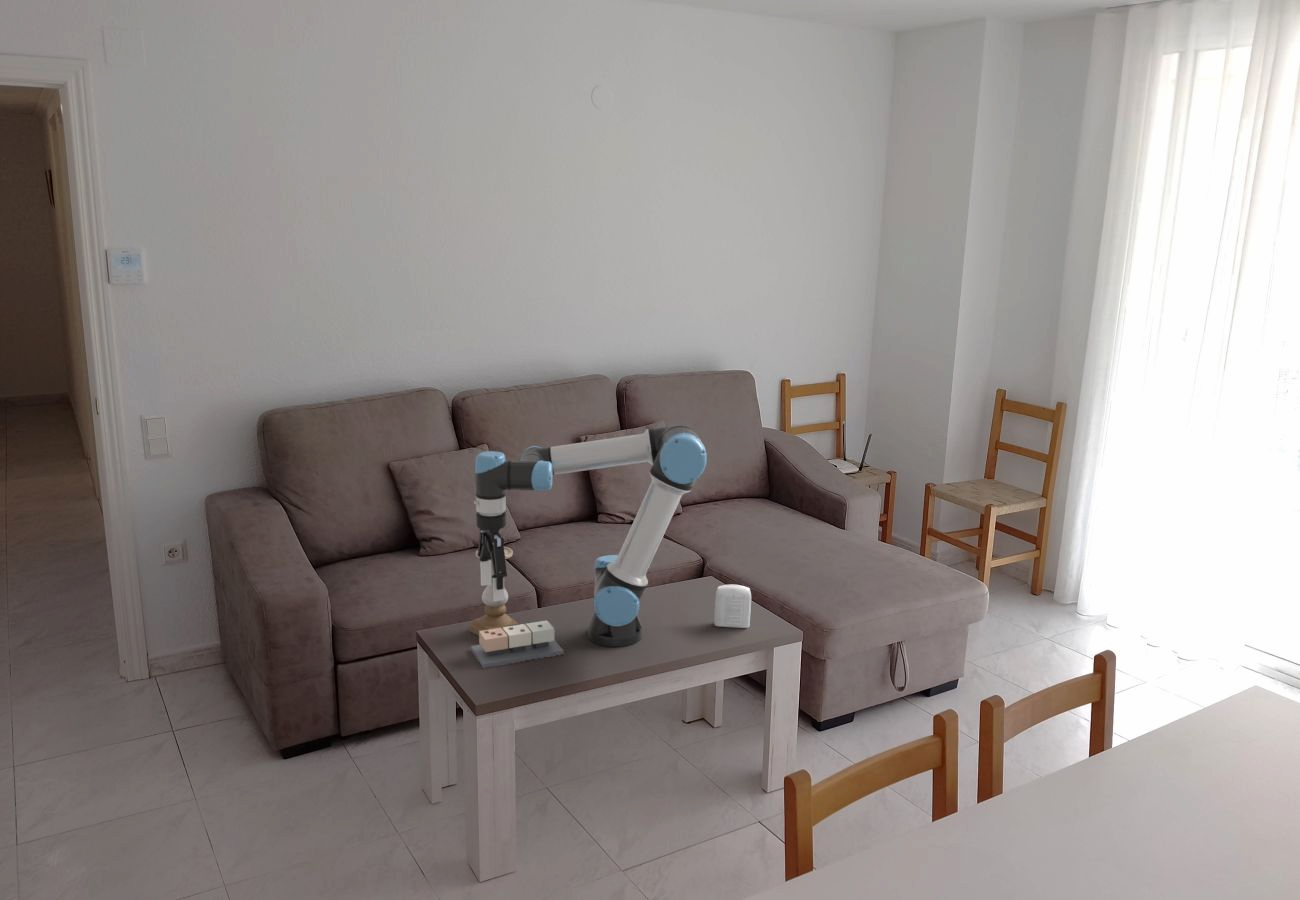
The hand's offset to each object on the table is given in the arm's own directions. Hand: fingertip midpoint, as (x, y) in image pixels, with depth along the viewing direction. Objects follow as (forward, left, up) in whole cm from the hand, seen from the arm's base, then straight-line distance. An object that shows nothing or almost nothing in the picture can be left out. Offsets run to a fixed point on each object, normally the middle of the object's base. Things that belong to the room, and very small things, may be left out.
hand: (492, 592), depth 267 cm
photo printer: (-69, +6, -18) cm, 72 cm away
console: (-7, 0, -18) cm, 19 cm away
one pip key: (-13, 0, -15) cm, 20 cm away
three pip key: (0, 0, -15) cm, 15 cm away
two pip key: (-7, 0, -15) cm, 16 cm away
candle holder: (-5, -15, -18) cm, 24 cm away
